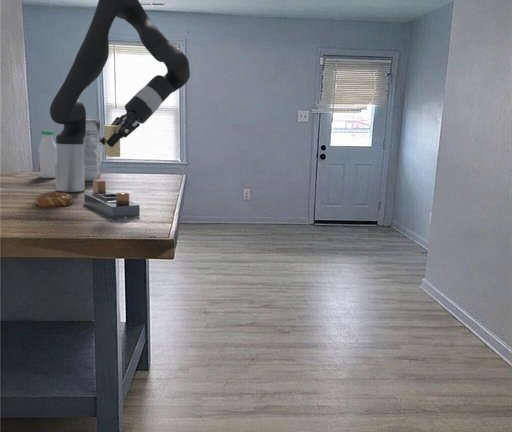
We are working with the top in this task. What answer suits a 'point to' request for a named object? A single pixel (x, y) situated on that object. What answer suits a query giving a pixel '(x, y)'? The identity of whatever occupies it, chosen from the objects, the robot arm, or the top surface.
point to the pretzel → (54, 199)
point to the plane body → (110, 202)
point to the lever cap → (108, 150)
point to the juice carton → (92, 150)
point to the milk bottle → (47, 155)
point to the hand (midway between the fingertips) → (105, 144)
